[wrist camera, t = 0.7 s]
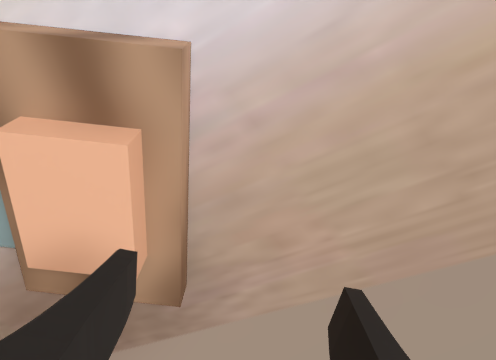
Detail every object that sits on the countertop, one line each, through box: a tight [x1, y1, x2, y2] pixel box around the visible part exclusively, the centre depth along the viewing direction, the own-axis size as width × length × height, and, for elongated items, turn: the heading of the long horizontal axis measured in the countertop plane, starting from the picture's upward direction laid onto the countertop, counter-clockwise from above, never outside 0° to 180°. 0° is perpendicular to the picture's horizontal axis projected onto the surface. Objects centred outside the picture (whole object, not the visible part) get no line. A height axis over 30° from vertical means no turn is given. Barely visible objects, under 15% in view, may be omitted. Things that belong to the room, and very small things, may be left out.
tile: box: [0, 116, 147, 279], centre depth 19 cm, size 6×8×2 cm
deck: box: [0, 22, 191, 307], centre depth 21 cm, size 10×16×2 cm, turn 175°
